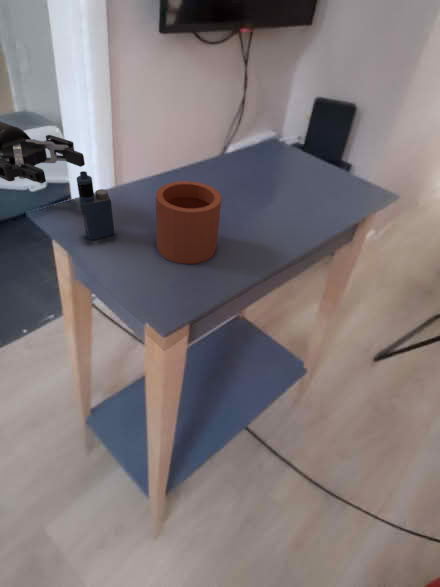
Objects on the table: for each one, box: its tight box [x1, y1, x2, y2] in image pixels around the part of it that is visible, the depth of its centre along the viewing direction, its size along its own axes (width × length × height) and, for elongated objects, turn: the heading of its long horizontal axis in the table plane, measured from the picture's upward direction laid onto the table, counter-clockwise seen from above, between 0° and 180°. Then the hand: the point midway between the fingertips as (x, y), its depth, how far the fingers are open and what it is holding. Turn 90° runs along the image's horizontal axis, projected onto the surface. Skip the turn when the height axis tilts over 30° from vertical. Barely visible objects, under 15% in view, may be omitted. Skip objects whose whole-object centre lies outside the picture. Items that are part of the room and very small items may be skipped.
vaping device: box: [76, 170, 115, 241], centre depth 67 cm, size 3×5×12 cm, turn 125°
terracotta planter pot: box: [155, 180, 222, 265], centre depth 67 cm, size 11×11×10 cm
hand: (64, 168), depth 65 cm, fingers open, 8 cm apart
